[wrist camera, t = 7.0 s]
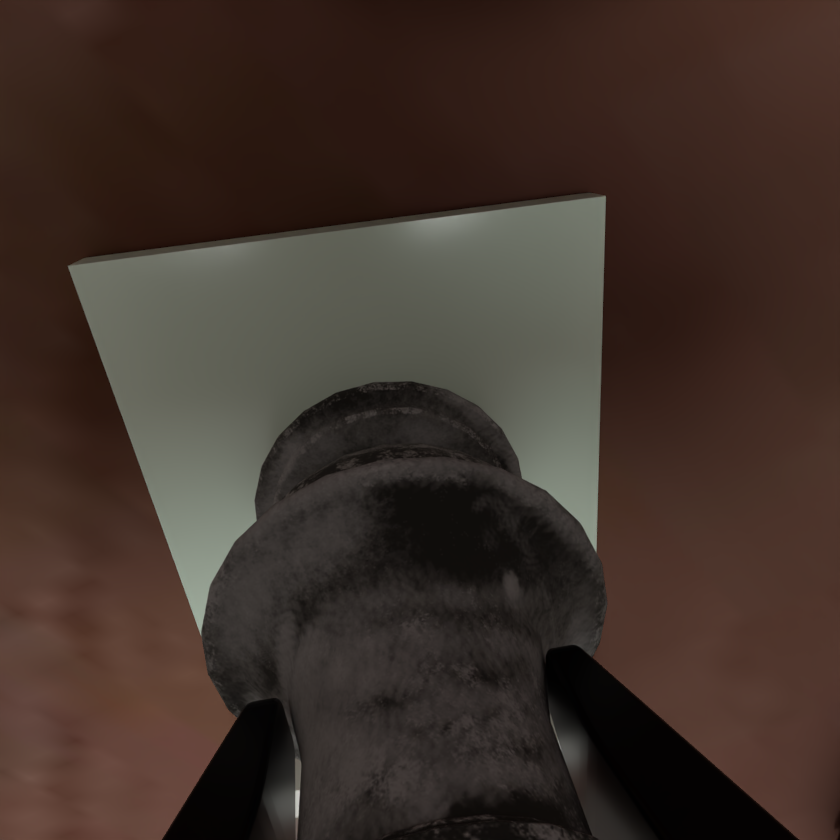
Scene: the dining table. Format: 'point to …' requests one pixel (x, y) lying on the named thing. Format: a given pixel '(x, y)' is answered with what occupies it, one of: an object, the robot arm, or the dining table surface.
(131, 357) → the green tile
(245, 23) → the dining table surface
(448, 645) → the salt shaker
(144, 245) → the dining table surface
